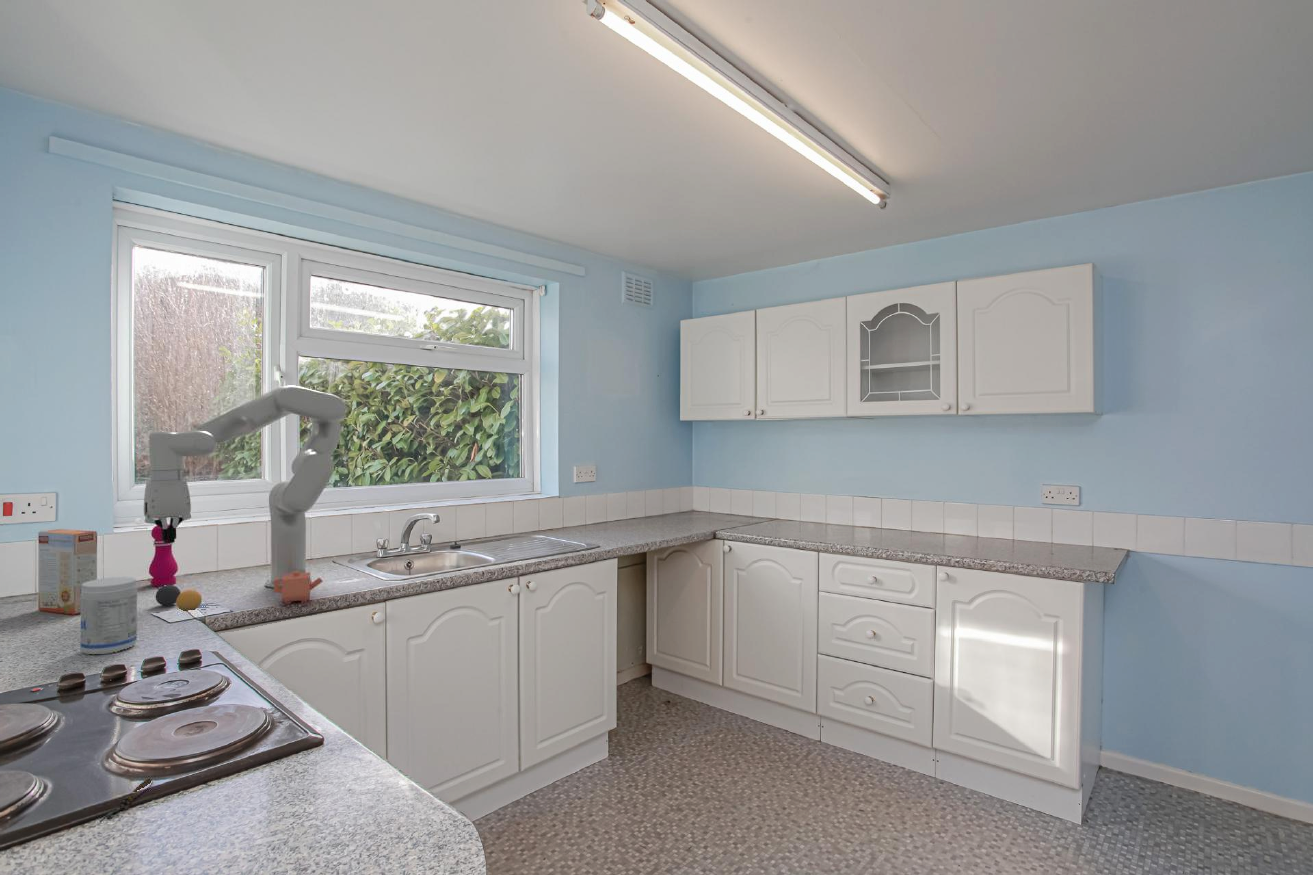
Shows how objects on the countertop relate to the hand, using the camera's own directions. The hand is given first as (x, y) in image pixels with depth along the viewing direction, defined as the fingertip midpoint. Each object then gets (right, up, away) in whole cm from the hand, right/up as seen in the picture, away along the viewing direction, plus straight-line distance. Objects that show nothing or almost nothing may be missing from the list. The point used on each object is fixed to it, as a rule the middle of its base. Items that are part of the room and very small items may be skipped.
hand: (169, 542), depth 190 cm
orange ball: (+13, -14, -11) cm, 22 cm away
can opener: (+68, -18, -103) cm, 124 cm away
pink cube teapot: (+36, -17, 0) cm, 40 cm away
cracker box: (-19, -16, -11) cm, 27 cm away
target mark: (+15, -16, -13) cm, 26 cm away
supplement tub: (+17, -17, -42) cm, 48 cm away
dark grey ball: (+4, -13, -6) cm, 15 cm away
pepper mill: (-16, -16, +20) cm, 30 cm away
